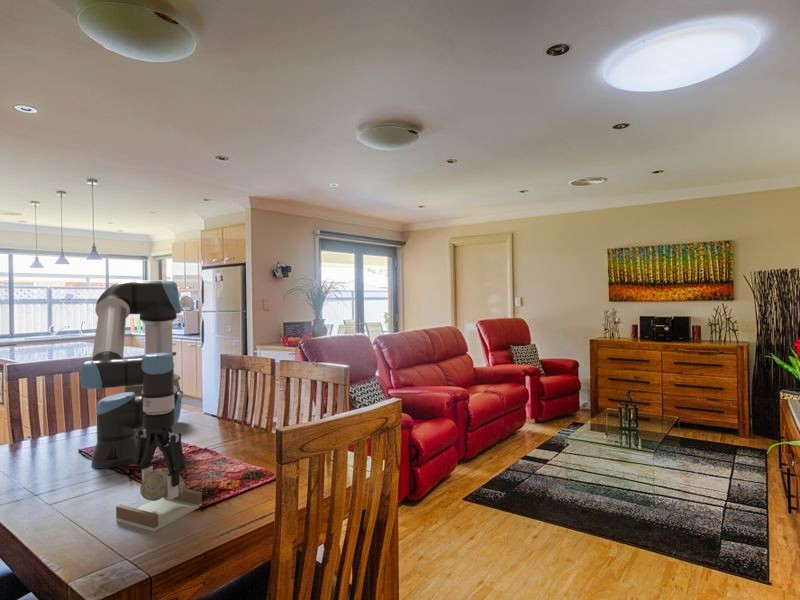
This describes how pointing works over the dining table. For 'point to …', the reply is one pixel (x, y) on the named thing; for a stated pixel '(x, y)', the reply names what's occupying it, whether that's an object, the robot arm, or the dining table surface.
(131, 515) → the cradle
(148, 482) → the seashell
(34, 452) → the dining table surface
